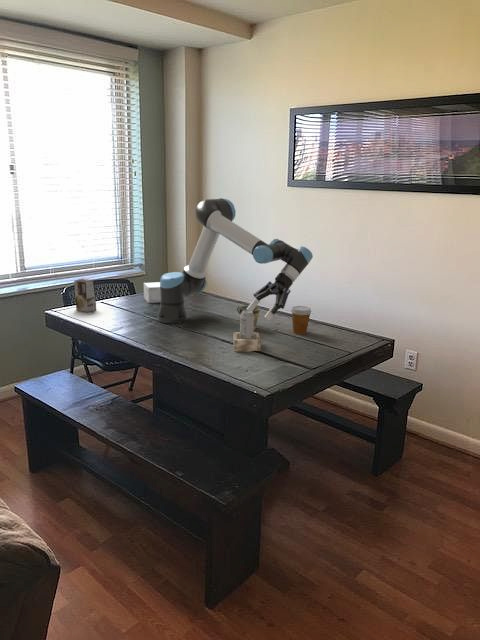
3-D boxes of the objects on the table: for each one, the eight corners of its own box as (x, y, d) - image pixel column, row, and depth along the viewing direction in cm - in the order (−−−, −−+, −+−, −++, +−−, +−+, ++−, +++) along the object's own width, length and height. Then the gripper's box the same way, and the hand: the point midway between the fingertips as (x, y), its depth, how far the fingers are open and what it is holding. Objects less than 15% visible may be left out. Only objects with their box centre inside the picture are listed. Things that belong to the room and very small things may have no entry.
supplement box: (148, 303, 299) (148, 287, 296) (143, 298, 310) (143, 282, 308) (177, 301, 305) (177, 285, 302) (171, 296, 317) (171, 280, 314)
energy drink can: (255, 346, 228) (256, 313, 223) (241, 347, 226) (242, 313, 222) (250, 342, 233) (251, 309, 229) (237, 343, 231) (238, 310, 227)
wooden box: (234, 351, 224) (234, 340, 223) (233, 343, 235) (233, 332, 233) (260, 351, 225) (260, 340, 223) (257, 343, 235) (258, 332, 234)
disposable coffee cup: (311, 331, 255) (313, 307, 252) (307, 336, 247) (309, 311, 243) (292, 328, 258) (293, 304, 255) (287, 334, 249) (289, 309, 246)
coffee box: (96, 310, 282) (95, 280, 277) (87, 312, 277) (85, 282, 272) (85, 307, 287) (83, 278, 282) (75, 309, 281) (73, 280, 277)
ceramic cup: (263, 328, 258) (264, 308, 255) (249, 332, 251) (250, 311, 248) (243, 322, 266) (244, 303, 264) (230, 326, 259) (230, 306, 257)
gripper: (309, 288, 223) (279, 327, 220) (274, 277, 243) (246, 313, 240) (300, 277, 219) (269, 316, 215) (265, 267, 239) (236, 303, 235)
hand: (257, 314), depth 227 cm, fingers open, 13 cm apart
